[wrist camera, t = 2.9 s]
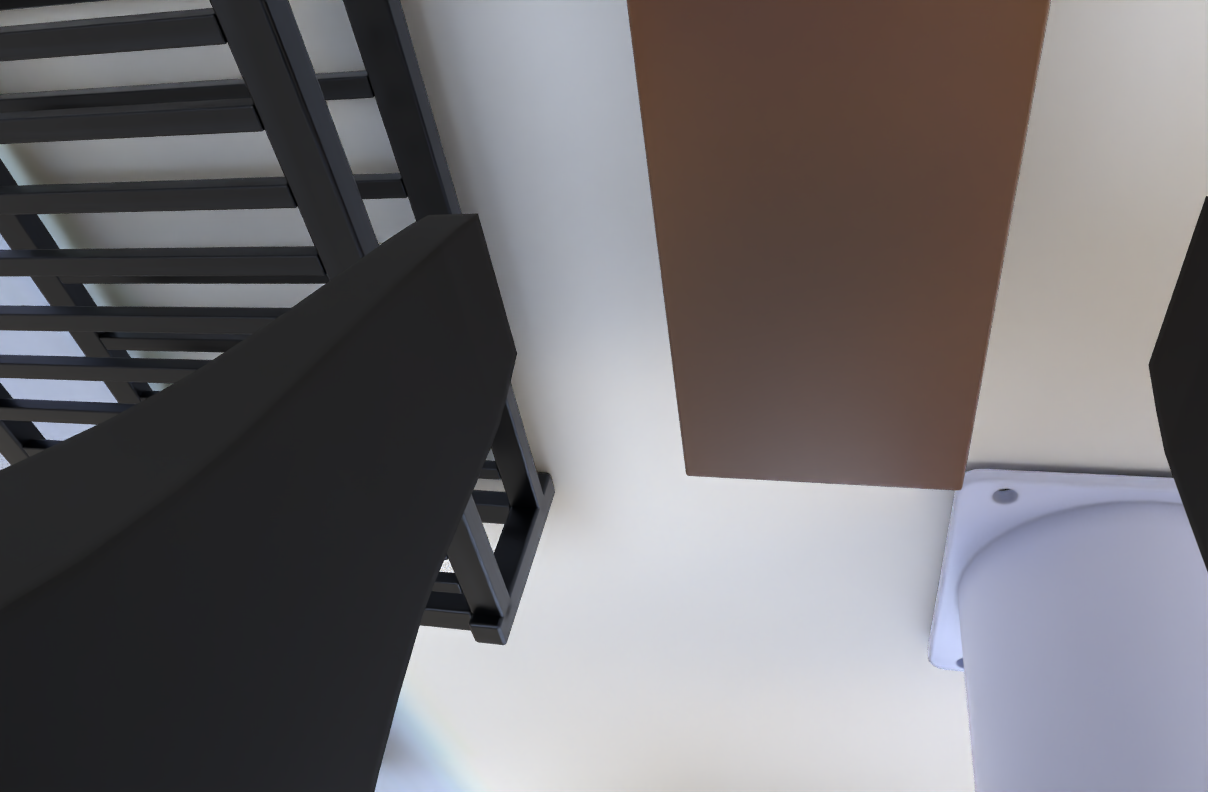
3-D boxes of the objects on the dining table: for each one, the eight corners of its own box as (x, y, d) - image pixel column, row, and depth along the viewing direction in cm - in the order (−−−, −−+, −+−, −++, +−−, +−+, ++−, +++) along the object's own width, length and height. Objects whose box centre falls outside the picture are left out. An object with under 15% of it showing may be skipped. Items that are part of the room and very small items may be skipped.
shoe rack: (365, -205, 14) (200, -120, 10) (556, 492, 24) (506, 647, 21) (-177, -123, 16) (-450, -35, 13) (208, 470, 27) (115, 604, 24)
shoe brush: (1043, -468, 10) (1137, -470, 7) (942, 301, 18) (962, 491, 14) (666, -395, 11) (580, -367, 8) (718, 299, 19) (685, 477, 15)
